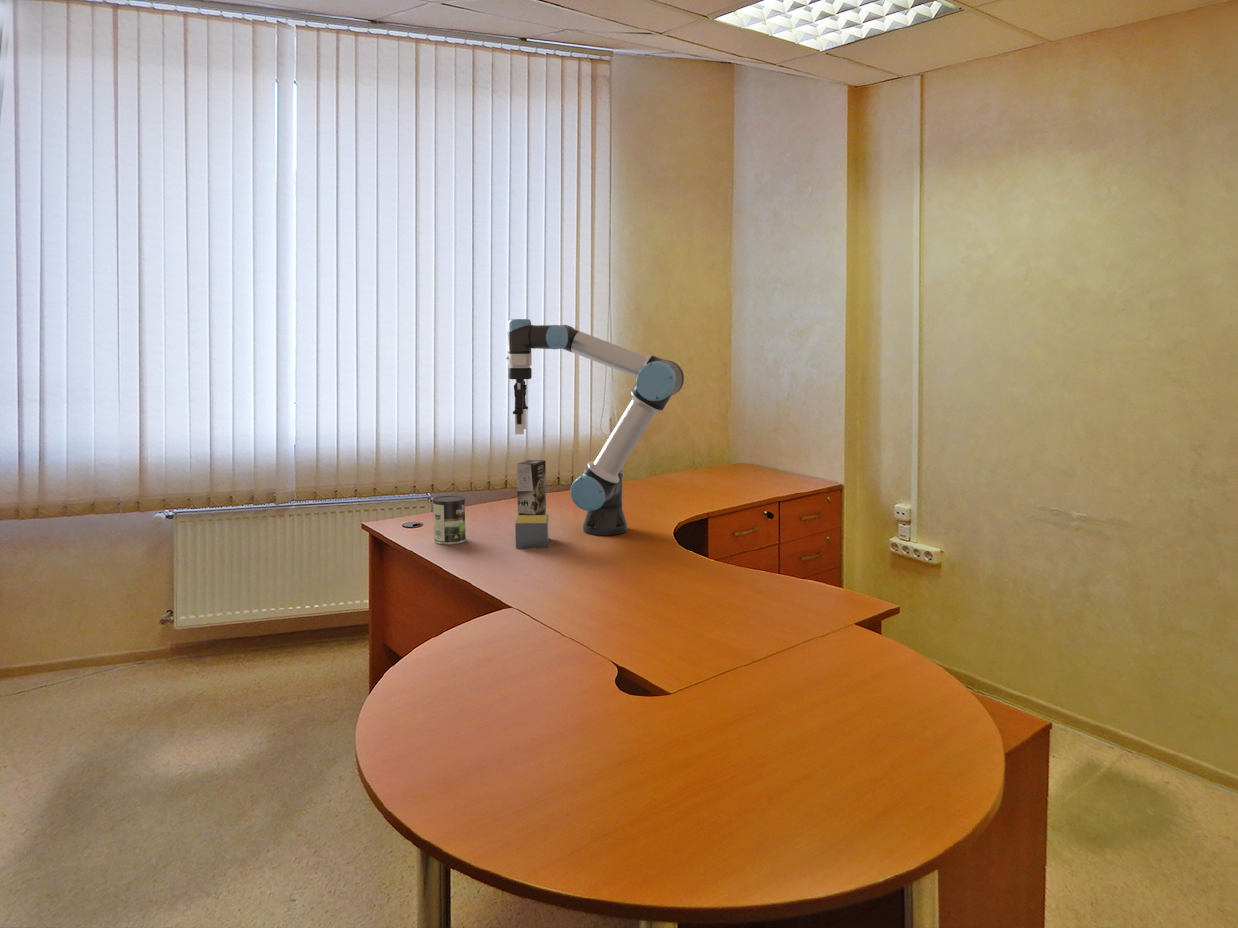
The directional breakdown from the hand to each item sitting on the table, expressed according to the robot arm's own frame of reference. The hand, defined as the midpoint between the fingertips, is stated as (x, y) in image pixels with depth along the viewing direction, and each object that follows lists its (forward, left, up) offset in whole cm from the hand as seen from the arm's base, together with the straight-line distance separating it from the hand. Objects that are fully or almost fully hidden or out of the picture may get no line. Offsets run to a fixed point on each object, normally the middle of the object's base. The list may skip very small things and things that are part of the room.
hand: (520, 431), depth 279 cm
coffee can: (+23, +8, -35) cm, 43 cm away
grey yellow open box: (-4, +12, -35) cm, 37 cm away
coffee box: (-4, +12, -24) cm, 27 cm away
